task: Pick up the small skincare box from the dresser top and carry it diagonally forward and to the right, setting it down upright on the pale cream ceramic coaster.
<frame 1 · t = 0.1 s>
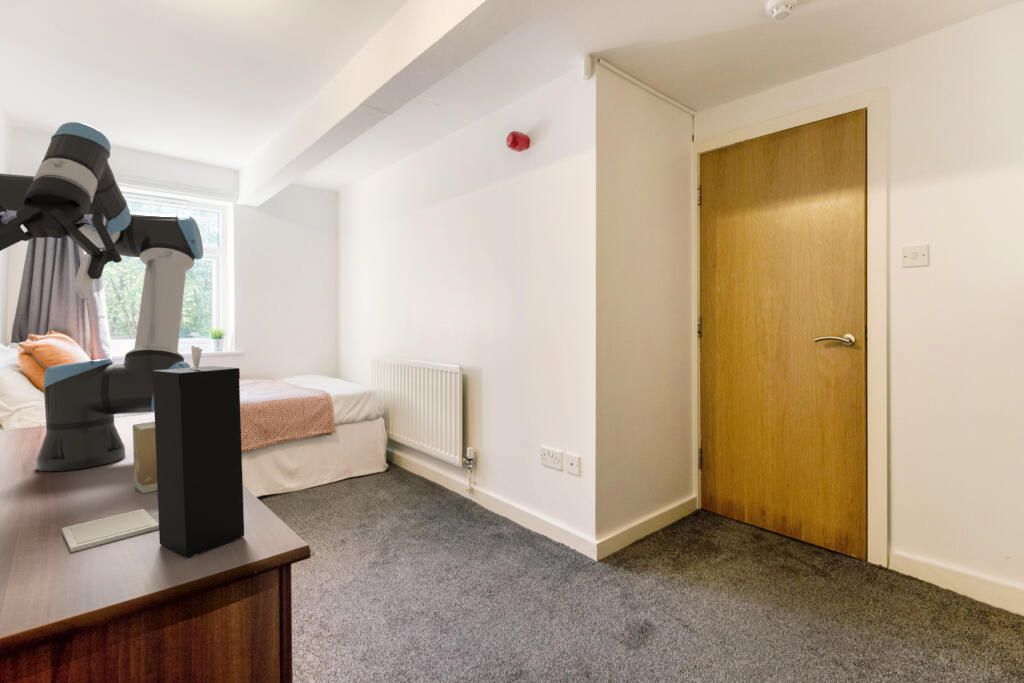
hand: (21, 293, 69), 36 cm above the table, tool tilted 35°, fingers open, 13 cm apart
tissue box: (202, 542, 69), on the table
coaster: (110, 530, 73), on the table
skincare box: (152, 488, 93), on the table
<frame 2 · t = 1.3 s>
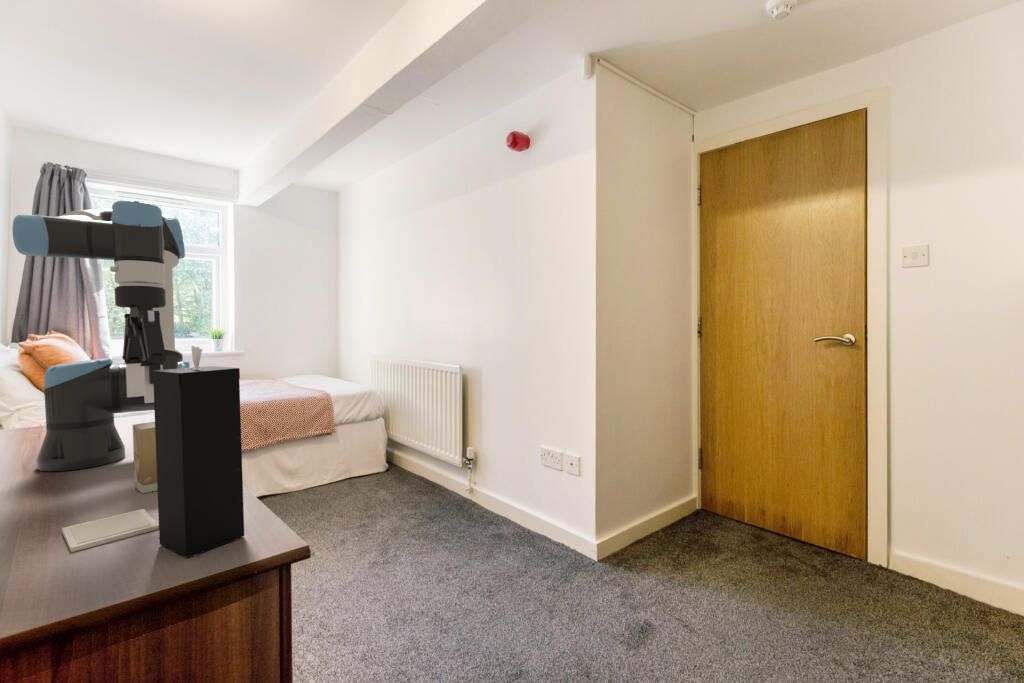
hand: (144, 399, 91), 17 cm above the table, tool pointing down, fingers open, 13 cm apart
nothing on the table moved.
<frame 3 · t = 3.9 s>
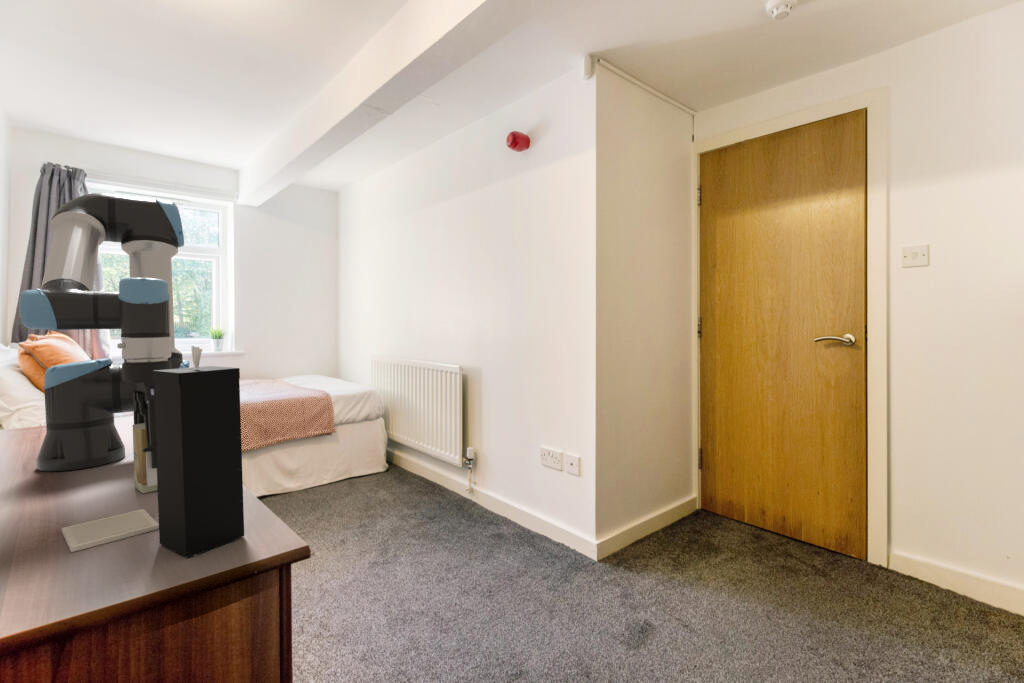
hand: (151, 480, 93), 1 cm above the table, tool pointing down, fingers closed on skincare box, 6 cm apart
skincare box: (152, 488, 93), on the table, touching gripper
everything else where it was.
when the fingers open (3 cm above the table, at t = 9.2 s): skincare box drops 1 cm, resting on coaster.
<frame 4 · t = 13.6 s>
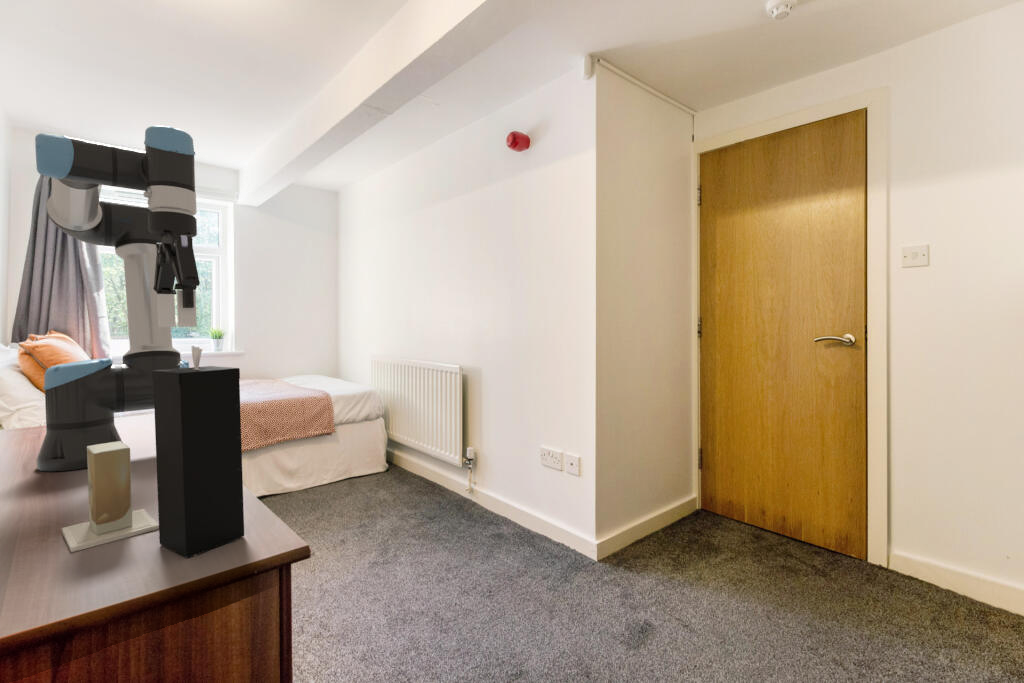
hand: (176, 327, 92), 31 cm above the table, tool pointing down, fingers open, 13 cm apart
skincare box: (111, 527, 73), resting on coaster
everything else where it was.
at the end: skincare box 0.1 cm from the coaster (horizontally); skincare box tilted 0°; the gripper is holding nothing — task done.
